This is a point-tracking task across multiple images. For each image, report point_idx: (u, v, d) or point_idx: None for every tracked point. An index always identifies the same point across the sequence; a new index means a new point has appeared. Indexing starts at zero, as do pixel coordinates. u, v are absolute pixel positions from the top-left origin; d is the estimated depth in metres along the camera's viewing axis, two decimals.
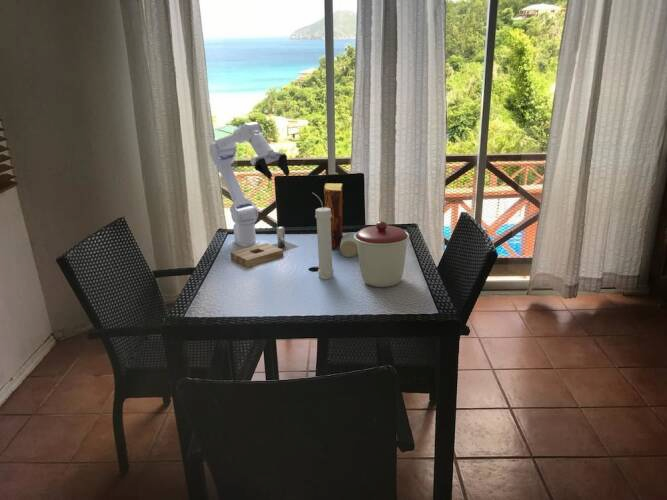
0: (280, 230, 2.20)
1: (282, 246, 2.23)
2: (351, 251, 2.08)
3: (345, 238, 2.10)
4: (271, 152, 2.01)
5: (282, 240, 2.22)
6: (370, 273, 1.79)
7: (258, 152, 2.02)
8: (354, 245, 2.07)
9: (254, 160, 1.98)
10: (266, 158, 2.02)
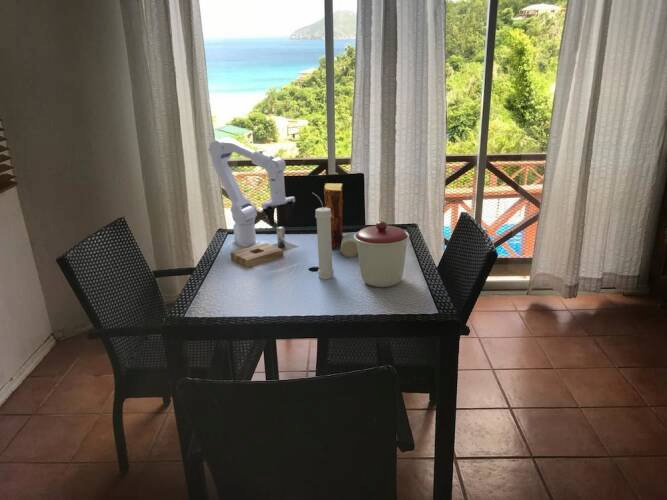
0: (280, 230, 2.20)
1: (282, 246, 2.23)
2: (352, 251, 2.08)
3: (346, 238, 2.10)
4: None
5: (282, 240, 2.22)
6: (370, 273, 1.79)
7: (272, 195, 2.15)
8: (355, 245, 2.07)
9: (265, 207, 2.13)
10: None
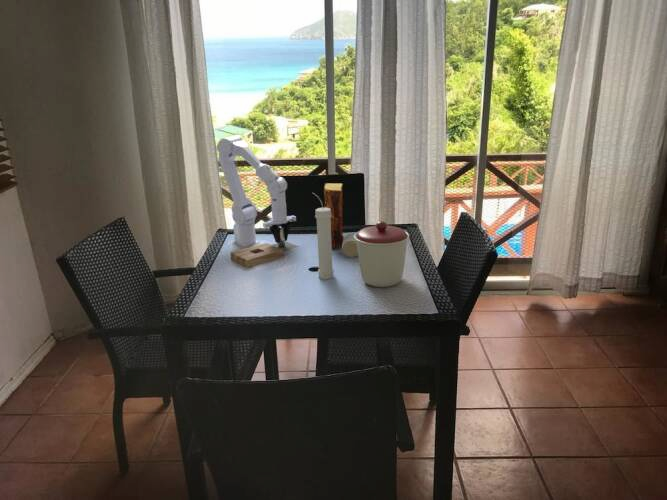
0: (280, 230, 2.20)
1: (282, 246, 2.23)
2: (353, 251, 2.08)
3: (347, 238, 2.10)
4: (284, 222, 2.18)
5: (282, 240, 2.22)
6: (370, 273, 1.79)
7: (273, 215, 2.18)
8: (356, 245, 2.07)
9: (267, 226, 2.16)
10: None
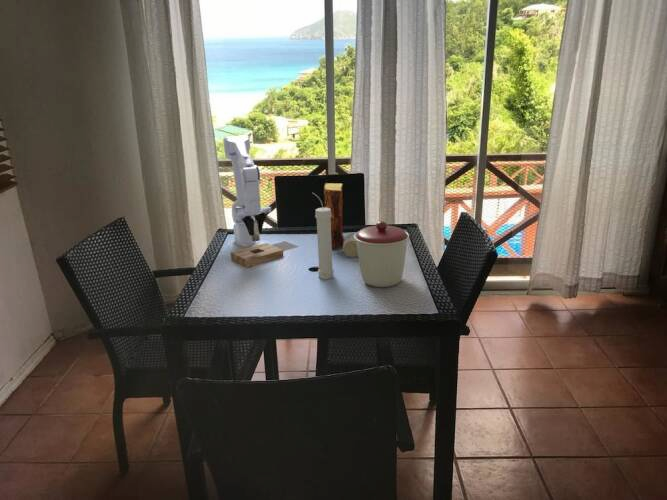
0: (253, 222, 2.07)
1: (256, 239, 2.09)
2: (354, 251, 2.08)
3: (348, 238, 2.10)
4: (258, 213, 2.05)
5: (256, 233, 2.08)
6: (370, 273, 1.79)
7: (246, 205, 2.04)
8: None
9: (239, 218, 2.02)
10: None
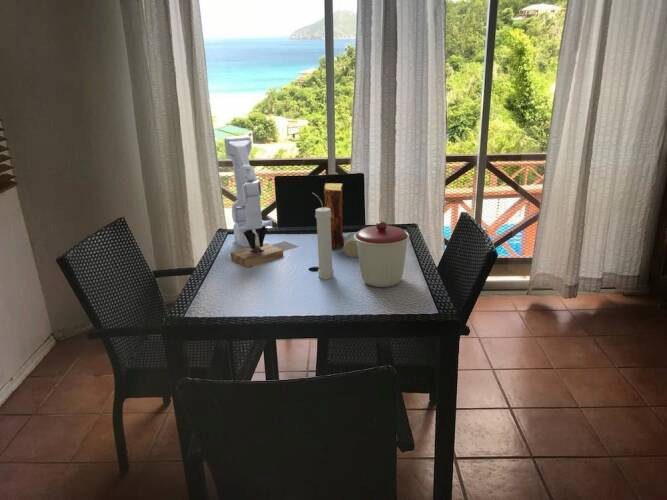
0: (255, 236, 2.08)
1: None
2: (355, 251, 2.08)
3: (349, 238, 2.10)
4: (259, 227, 2.06)
5: (257, 247, 2.10)
6: (370, 273, 1.79)
7: (248, 219, 2.06)
8: None
9: (240, 232, 2.04)
10: None
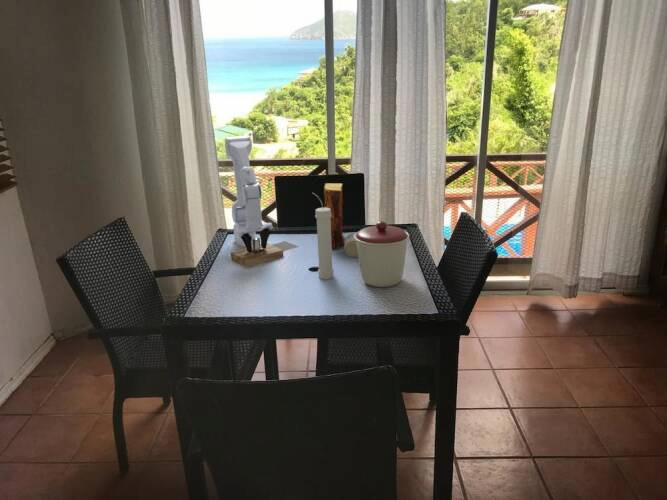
0: (255, 241, 2.09)
1: None
2: (355, 251, 2.08)
3: (349, 238, 2.10)
4: (259, 230, 2.07)
5: (257, 252, 2.11)
6: (370, 273, 1.79)
7: (248, 222, 2.06)
8: None
9: (241, 234, 2.05)
10: None
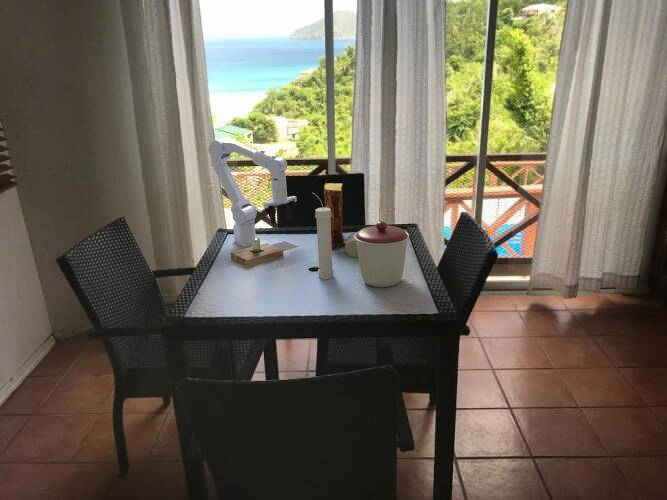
0: (255, 241, 2.09)
1: None
2: (357, 251, 2.08)
3: (350, 238, 2.10)
4: (284, 202, 2.17)
5: (257, 252, 2.11)
6: (370, 273, 1.79)
7: (274, 195, 2.16)
8: None
9: (267, 206, 2.14)
10: None
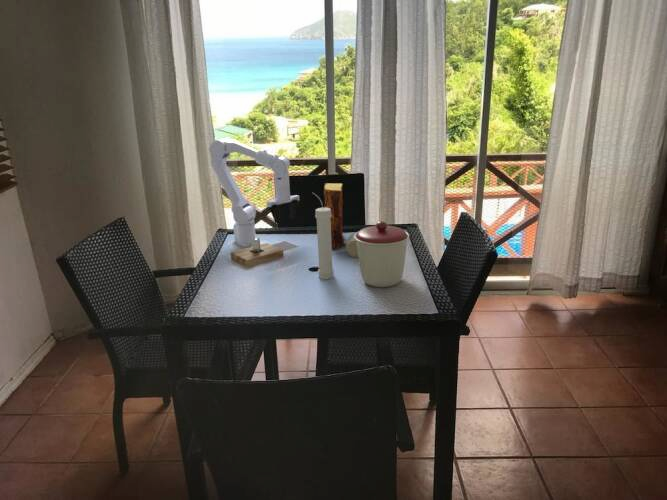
0: (255, 241, 2.09)
1: None
2: None
3: (351, 238, 2.10)
4: (288, 201, 2.18)
5: (257, 252, 2.11)
6: (370, 273, 1.79)
7: (277, 194, 2.17)
8: None
9: (270, 205, 2.16)
10: None
